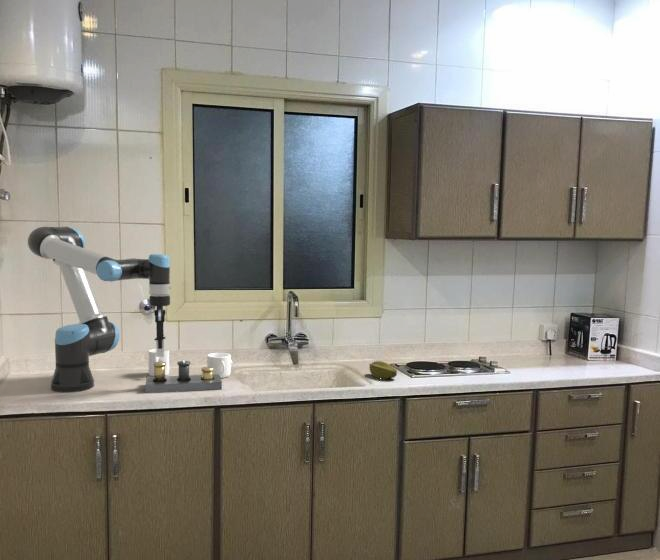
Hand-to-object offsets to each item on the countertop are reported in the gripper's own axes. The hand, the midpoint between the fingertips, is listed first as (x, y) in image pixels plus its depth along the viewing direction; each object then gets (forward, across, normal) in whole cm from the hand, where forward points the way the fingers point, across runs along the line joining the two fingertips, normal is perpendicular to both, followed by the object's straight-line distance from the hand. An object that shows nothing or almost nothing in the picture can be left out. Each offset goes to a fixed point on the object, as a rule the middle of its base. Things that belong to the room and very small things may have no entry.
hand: (160, 356), depth 228 cm
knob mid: (+9, 0, -9) cm, 13 cm away
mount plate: (+12, 0, -9) cm, 15 cm away
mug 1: (+12, +20, +1) cm, 24 cm away
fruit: (+13, +2, -91) cm, 92 cm away
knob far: (+12, 0, -18) cm, 21 cm away
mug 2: (+13, +14, -24) cm, 30 cm away
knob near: (+9, 0, 0) cm, 9 cm away
